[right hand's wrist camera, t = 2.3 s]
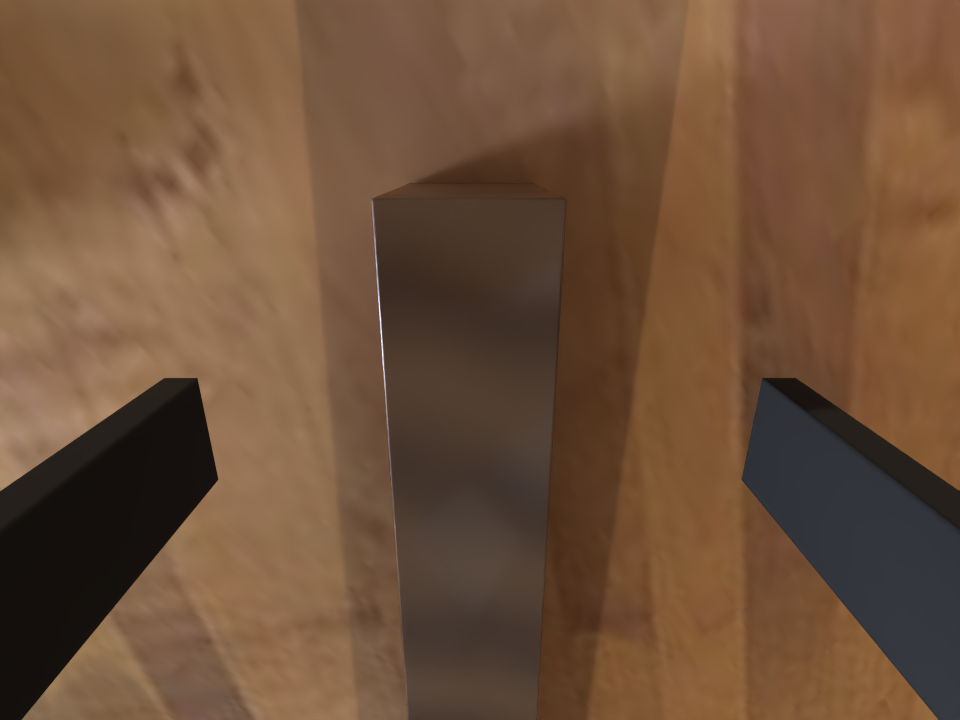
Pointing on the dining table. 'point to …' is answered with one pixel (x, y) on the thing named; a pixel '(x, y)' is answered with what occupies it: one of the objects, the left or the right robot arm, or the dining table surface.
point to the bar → (470, 434)
